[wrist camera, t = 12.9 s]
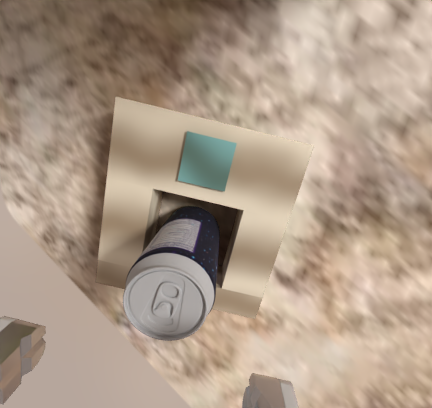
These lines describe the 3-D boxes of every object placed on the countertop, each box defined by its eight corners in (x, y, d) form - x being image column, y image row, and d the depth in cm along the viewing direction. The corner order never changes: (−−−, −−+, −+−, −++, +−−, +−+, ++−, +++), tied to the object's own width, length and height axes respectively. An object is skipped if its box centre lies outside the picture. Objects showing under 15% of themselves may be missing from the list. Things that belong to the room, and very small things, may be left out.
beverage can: (161, 243, 25) (106, 329, 14) (176, 196, 24) (128, 247, 12) (209, 259, 25) (196, 357, 14) (227, 214, 24) (229, 281, 12)
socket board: (135, 104, 22) (113, 95, 17) (298, 145, 22) (315, 145, 18) (114, 261, 26) (93, 284, 22) (250, 293, 26) (255, 321, 22)
